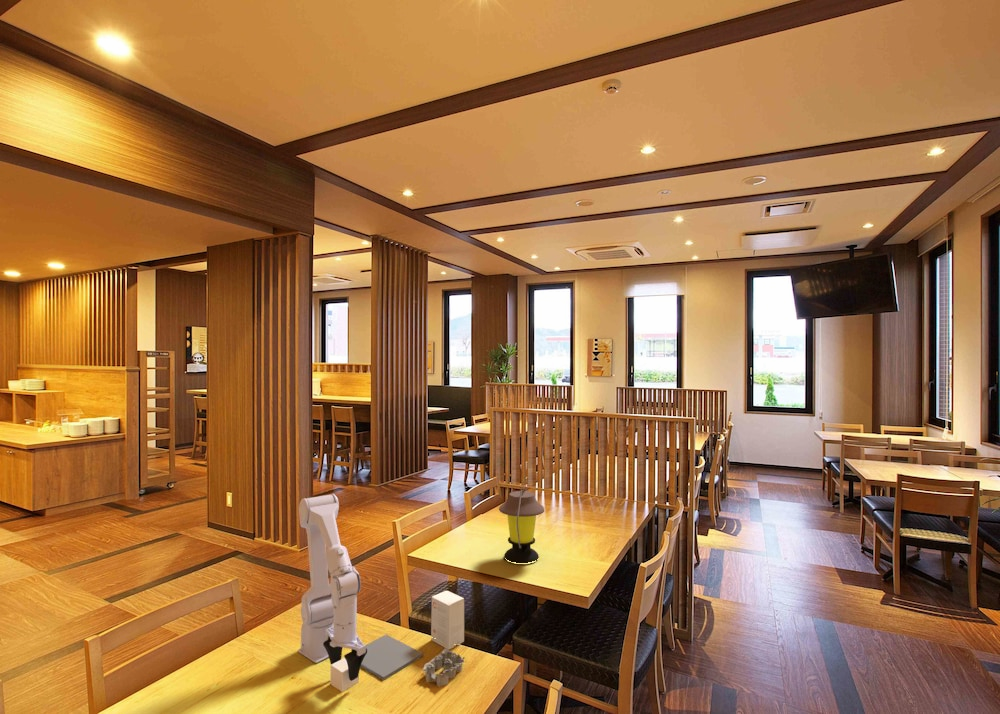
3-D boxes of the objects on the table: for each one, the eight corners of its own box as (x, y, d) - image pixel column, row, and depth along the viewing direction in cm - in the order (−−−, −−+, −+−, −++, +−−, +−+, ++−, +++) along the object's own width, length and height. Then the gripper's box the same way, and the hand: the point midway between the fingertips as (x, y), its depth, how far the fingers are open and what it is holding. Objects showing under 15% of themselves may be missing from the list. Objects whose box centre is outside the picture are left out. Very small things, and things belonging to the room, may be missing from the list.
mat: (346, 658, 143) (346, 655, 143) (386, 636, 154) (386, 634, 154) (383, 680, 134) (383, 677, 134) (423, 656, 145) (423, 653, 145)
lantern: (520, 544, 233) (520, 478, 233) (556, 554, 221) (556, 485, 221) (485, 561, 213) (486, 489, 213) (523, 573, 201) (523, 497, 201)
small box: (464, 642, 152) (464, 598, 152) (448, 650, 147) (448, 605, 148) (446, 632, 158) (446, 589, 158) (430, 640, 153) (430, 596, 153)
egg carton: (442, 690, 130) (442, 674, 130) (420, 680, 134) (420, 664, 134) (467, 668, 139) (467, 653, 139) (445, 659, 143) (445, 645, 143)
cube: (330, 684, 132) (330, 664, 132) (346, 675, 136) (347, 656, 136) (342, 692, 129) (342, 672, 129) (358, 682, 133) (358, 663, 133)
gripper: (315, 617, 134) (315, 669, 134) (349, 635, 125) (348, 691, 125) (338, 607, 139) (338, 657, 139) (372, 624, 130) (372, 677, 130)
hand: (344, 673), depth 132 cm, fingers open, 7 cm apart
